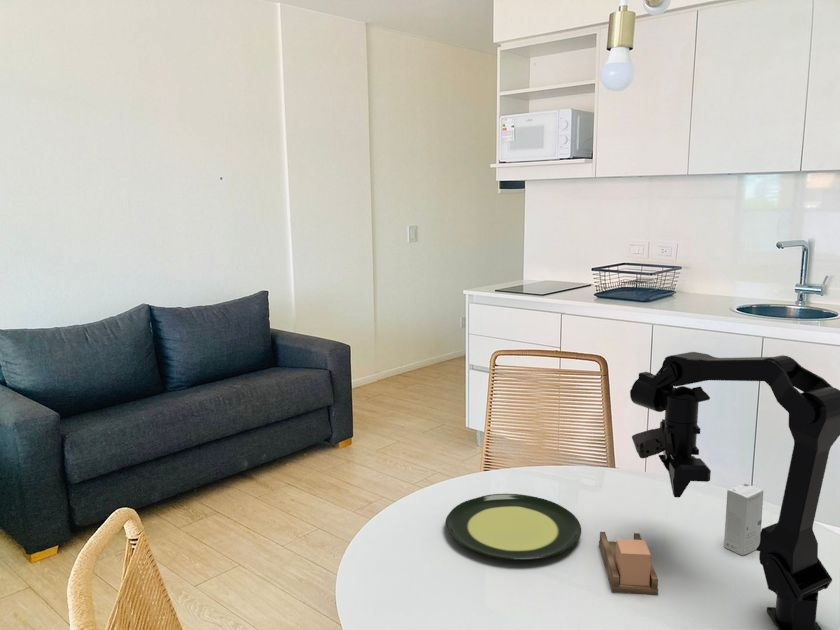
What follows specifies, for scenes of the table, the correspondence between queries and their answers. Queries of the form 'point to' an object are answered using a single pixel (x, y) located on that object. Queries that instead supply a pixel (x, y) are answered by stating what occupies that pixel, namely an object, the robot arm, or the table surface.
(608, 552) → the chute
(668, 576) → the table surface
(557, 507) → the plate
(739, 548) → the skincare box
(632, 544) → the block
